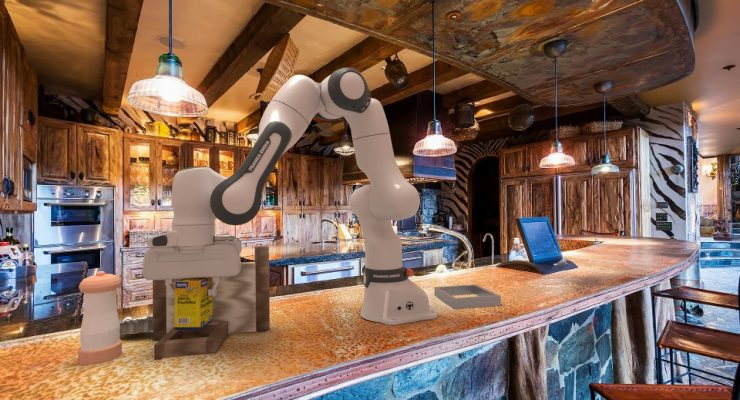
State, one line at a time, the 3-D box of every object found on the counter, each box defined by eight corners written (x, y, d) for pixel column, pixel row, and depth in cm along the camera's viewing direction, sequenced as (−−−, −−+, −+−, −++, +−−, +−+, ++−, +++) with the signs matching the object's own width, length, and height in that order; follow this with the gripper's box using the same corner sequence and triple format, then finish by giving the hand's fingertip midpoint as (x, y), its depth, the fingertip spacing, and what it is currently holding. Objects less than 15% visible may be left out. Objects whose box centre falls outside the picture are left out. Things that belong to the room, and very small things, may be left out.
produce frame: (476, 292, 123) (475, 284, 123) (500, 305, 107) (500, 295, 107) (434, 295, 120) (434, 287, 120) (453, 309, 104) (453, 299, 104)
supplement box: (200, 330, 74) (200, 281, 74) (173, 331, 74) (173, 281, 75) (213, 321, 80) (213, 275, 80) (188, 321, 80) (188, 275, 80)
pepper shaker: (72, 372, 67) (71, 276, 67) (85, 357, 74) (85, 270, 74) (116, 365, 70) (116, 272, 70) (125, 351, 77) (125, 267, 77)
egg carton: (168, 326, 89) (168, 310, 90) (151, 332, 82) (151, 314, 83) (127, 330, 89) (127, 314, 89) (106, 337, 81) (106, 319, 82)
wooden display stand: (270, 328, 90) (269, 245, 90) (263, 354, 74) (262, 254, 75) (156, 337, 85) (156, 249, 85) (123, 367, 69) (122, 259, 70)
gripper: (243, 234, 83) (244, 291, 82) (151, 237, 79) (152, 296, 79) (238, 236, 76) (239, 297, 76) (138, 239, 73) (138, 304, 72)
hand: (194, 297), depth 77 cm, fingers closed on supplement box, 6 cm apart
